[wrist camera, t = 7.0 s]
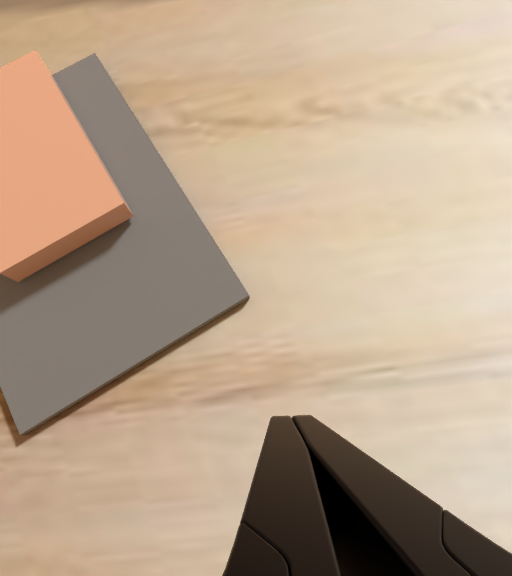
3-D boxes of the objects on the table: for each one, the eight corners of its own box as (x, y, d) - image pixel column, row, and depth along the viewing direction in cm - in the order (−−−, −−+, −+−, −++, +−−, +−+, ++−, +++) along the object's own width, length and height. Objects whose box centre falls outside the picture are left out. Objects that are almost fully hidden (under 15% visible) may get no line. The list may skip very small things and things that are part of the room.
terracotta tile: (123, 202, 21) (35, 49, 24) (-1, 273, 21) (-75, 106, 24) (135, 218, 23) (51, 73, 26) (21, 283, 22) (-51, 126, 26)
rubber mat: (249, 297, 22) (248, 295, 21) (25, 434, 21) (19, 434, 20) (98, 59, 27) (94, 52, 26) (-88, 156, 26) (-95, 151, 25)
